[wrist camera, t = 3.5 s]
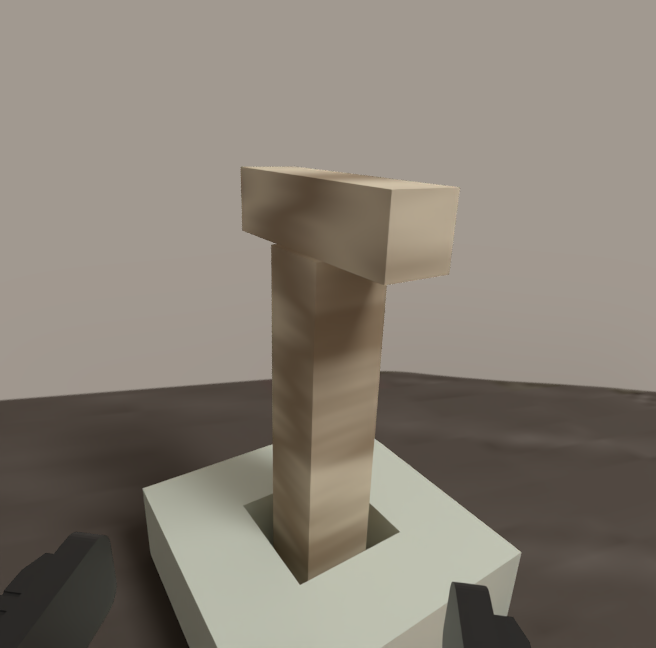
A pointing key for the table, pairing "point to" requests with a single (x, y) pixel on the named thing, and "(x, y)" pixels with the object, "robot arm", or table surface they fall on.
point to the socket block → (329, 587)
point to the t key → (334, 337)
